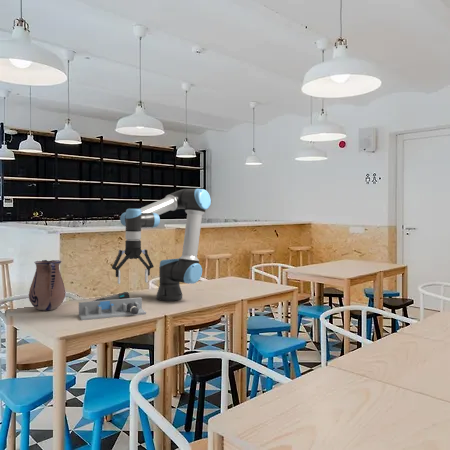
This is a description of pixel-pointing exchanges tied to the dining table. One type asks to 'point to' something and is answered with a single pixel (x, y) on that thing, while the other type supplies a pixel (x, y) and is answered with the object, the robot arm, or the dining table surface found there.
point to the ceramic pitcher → (47, 286)
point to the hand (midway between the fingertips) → (132, 282)
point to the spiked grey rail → (108, 308)
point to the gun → (116, 297)
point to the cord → (132, 308)
